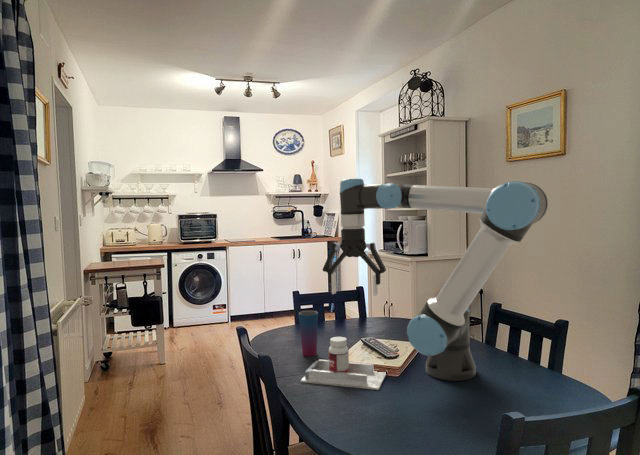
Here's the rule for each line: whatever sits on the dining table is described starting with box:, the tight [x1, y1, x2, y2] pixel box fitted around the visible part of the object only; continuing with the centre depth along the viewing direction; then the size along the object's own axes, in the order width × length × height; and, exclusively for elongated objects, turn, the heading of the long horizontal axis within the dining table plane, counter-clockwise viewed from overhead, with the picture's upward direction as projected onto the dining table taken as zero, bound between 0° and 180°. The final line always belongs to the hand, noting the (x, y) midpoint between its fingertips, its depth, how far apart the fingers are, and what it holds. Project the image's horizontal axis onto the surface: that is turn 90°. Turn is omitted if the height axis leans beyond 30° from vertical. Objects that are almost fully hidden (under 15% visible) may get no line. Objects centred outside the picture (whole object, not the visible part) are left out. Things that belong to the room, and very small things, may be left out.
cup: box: [298, 310, 319, 357], centre depth 166 cm, size 7×7×15 cm
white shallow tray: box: [300, 358, 387, 391], centre depth 144 cm, size 24×14×3 cm, turn 72°
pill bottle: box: [328, 336, 350, 373], centre depth 144 cm, size 6×6×11 cm
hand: (354, 294), depth 148 cm, fingers open, 13 cm apart
